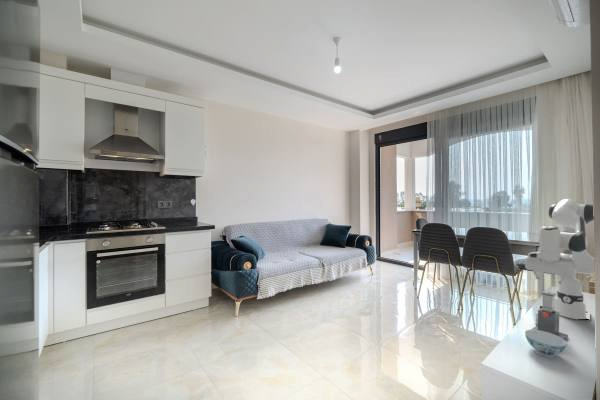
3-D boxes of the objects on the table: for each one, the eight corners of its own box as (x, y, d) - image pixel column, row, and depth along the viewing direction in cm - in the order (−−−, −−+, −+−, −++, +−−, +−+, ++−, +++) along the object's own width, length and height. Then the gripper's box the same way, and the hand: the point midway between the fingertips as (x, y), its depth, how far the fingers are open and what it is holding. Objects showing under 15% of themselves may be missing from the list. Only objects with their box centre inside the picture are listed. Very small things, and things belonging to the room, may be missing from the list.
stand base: (537, 327, 156) (537, 304, 156) (568, 337, 145) (568, 312, 145) (528, 333, 149) (528, 309, 149) (560, 344, 138) (560, 318, 138)
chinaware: (571, 356, 128) (571, 339, 128) (560, 366, 120) (560, 349, 120) (531, 341, 141) (531, 327, 141) (519, 350, 133) (519, 334, 133)
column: (544, 330, 150) (544, 290, 150) (555, 333, 146) (555, 293, 146) (541, 332, 148) (541, 292, 148) (552, 335, 144) (552, 294, 144)
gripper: (577, 259, 140) (577, 285, 140) (528, 252, 157) (528, 275, 157) (574, 260, 136) (573, 287, 136) (524, 253, 154) (523, 277, 154)
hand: (548, 281), depth 147 cm, fingers open, 8 cm apart
